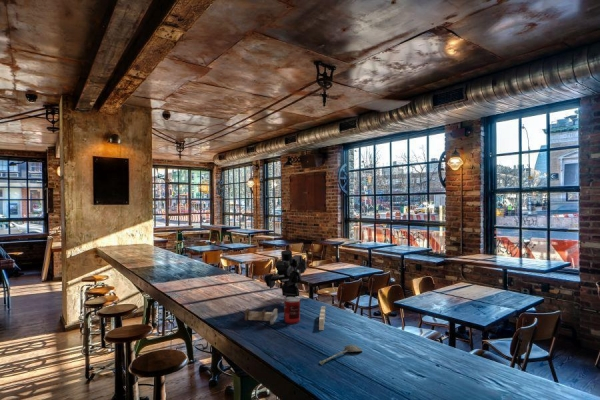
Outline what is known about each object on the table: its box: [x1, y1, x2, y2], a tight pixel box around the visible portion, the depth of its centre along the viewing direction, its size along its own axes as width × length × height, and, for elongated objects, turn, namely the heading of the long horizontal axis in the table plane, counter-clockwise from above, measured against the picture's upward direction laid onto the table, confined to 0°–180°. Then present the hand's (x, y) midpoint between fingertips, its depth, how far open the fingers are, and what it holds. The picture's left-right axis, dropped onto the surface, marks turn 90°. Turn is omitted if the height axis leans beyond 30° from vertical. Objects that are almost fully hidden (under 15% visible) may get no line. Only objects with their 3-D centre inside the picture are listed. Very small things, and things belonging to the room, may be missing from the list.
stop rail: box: [318, 305, 326, 331], centre depth 172 cm, size 20×2×5 cm, turn 174°
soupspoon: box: [319, 344, 363, 366], centre depth 135 cm, size 22×3×7 cm
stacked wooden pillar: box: [244, 308, 278, 325], centre depth 176 cm, size 15×12×4 cm
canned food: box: [283, 296, 301, 325], centre depth 174 cm, size 8×8×11 cm
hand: (278, 286), depth 173 cm, fingers open, 9 cm apart
